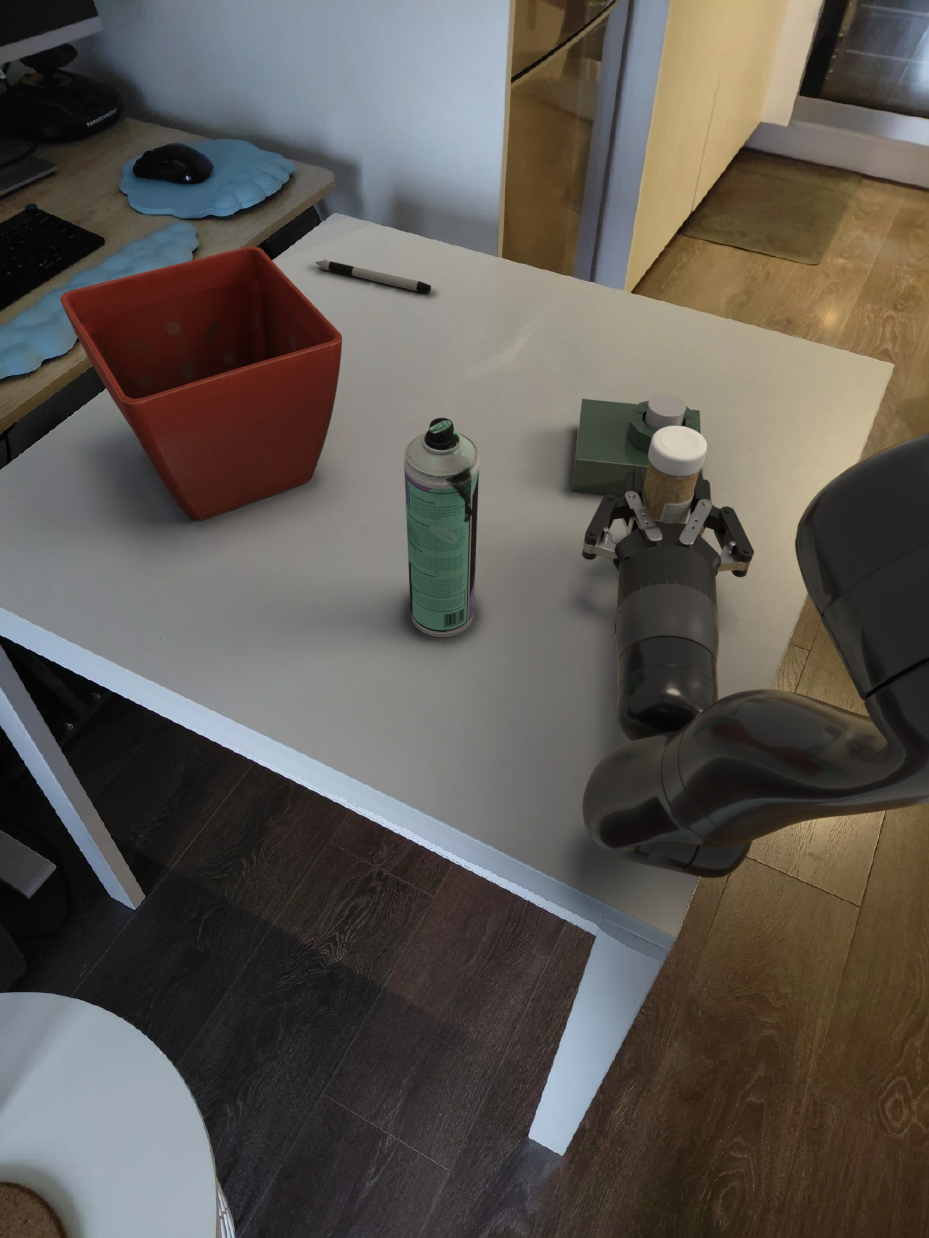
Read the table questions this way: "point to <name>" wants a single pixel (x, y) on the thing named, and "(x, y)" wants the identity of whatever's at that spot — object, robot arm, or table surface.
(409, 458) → the spray can
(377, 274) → the pen
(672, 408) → the grey short cylinder
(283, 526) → the table surface
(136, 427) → the flower pot
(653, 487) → the sprinkles bottle
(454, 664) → the table surface
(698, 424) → the push button box
